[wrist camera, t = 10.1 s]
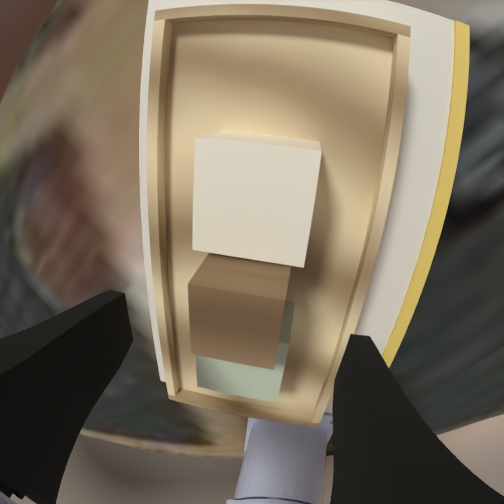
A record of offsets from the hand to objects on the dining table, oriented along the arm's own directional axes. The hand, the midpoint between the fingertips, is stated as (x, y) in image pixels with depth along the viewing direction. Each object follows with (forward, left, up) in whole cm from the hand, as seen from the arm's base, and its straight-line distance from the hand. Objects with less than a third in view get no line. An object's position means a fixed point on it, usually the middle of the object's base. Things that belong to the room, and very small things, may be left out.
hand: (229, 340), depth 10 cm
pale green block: (-4, 0, -6) cm, 7 cm away
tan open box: (0, 0, -8) cm, 8 cm away
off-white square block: (+4, 0, -6) cm, 7 cm away
